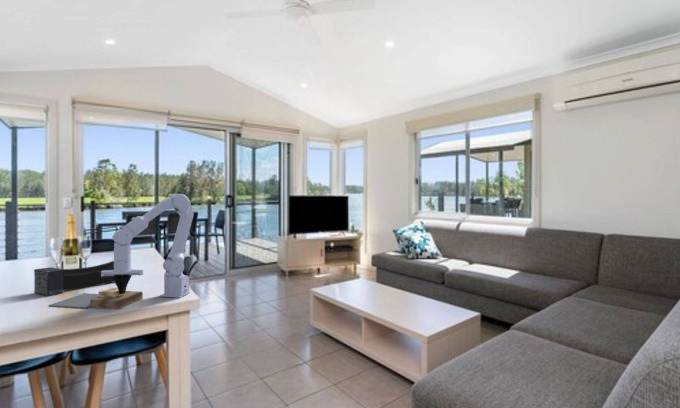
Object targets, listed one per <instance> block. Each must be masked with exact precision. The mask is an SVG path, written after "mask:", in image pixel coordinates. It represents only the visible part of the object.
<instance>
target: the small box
mask: <svg viewBox="0 0 680 408" xmlns="http://www.w3.org/2000/svg"><path fill="white" fill-rule="evenodd" d="M57 268H58V267H44V268H35V269H33V272H34V273H33V274H34V276H33V277H34V284H33V285H34V294H36V295H41V296H45V297H50V296H54V295H59V294H64V290H63V269H64V268H59V269H57Z"/></svg>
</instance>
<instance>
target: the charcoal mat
mask: <svg viewBox="0 0 680 408" xmlns="http://www.w3.org/2000/svg"><path fill="white" fill-rule="evenodd" d="M96 297H99V293H87V292H86V293H81V294H78V295H75V296H72V297H69V298H66V299H63V300H59V301H57V302H53V303H50V304H49V305H48V307H54V308H55V307H56V308H57V307H58V308H69V309H70V308H71V309H89V308H91V307H90V300H91V299H94V298H96Z"/></svg>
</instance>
